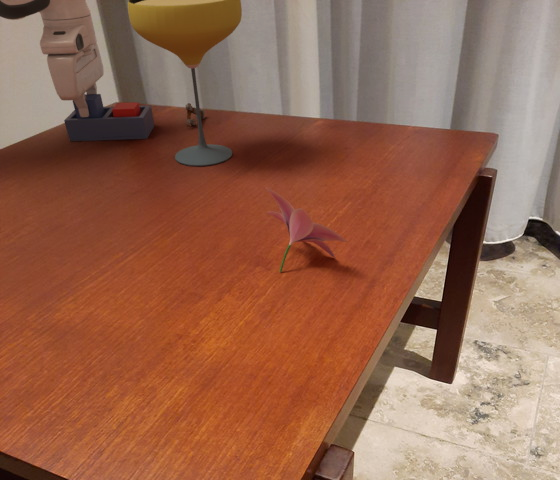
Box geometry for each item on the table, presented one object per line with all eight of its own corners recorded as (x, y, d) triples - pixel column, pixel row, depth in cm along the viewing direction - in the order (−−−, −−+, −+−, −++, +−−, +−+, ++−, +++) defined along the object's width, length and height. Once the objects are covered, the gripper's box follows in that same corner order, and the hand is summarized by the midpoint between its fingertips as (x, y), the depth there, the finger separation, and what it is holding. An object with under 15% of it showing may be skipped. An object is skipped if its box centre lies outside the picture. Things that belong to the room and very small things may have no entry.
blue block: (78, 124, 113) (72, 100, 110) (84, 117, 116) (78, 94, 114) (100, 123, 113) (94, 100, 110) (105, 117, 116) (100, 93, 113)
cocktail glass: (233, 177, 96) (217, 6, 79) (139, 170, 100) (105, 6, 83) (263, 142, 109) (254, -12, 92) (178, 137, 113) (155, -11, 96)
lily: (347, 291, 69) (370, 214, 67) (261, 272, 65) (281, 188, 62) (310, 273, 80) (328, 206, 77) (234, 256, 75) (250, 184, 72)
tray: (146, 138, 113) (142, 117, 110) (69, 141, 113) (63, 120, 111) (154, 125, 119) (151, 105, 117) (81, 128, 120) (76, 107, 117)
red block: (117, 132, 114) (112, 109, 111) (122, 125, 117) (117, 102, 114) (138, 131, 114) (134, 108, 111) (143, 124, 117) (138, 102, 114)
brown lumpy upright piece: (182, 125, 115) (182, 102, 114) (196, 130, 123) (196, 108, 121) (190, 126, 115) (190, 102, 114) (204, 130, 122) (204, 108, 121)
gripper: (70, 24, 112) (88, 98, 122) (35, 45, 97) (59, 128, 106) (101, 23, 112) (117, 97, 121) (71, 44, 97) (91, 127, 106)
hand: (89, 111), depth 114 cm, fingers closed on blue block, 4 cm apart
